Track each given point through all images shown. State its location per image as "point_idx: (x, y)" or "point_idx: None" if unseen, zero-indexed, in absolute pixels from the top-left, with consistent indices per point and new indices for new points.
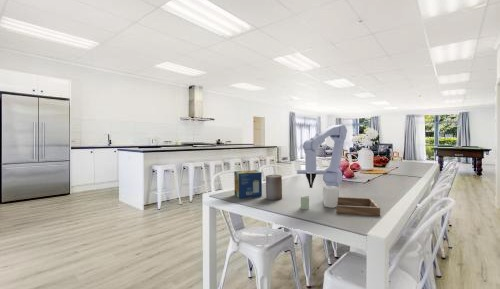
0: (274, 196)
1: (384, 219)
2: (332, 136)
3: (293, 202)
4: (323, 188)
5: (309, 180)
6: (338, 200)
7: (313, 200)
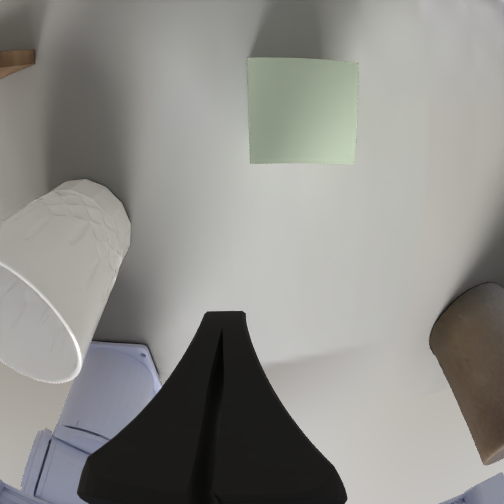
0: (491, 298)
1: None
2: None
3: (377, 259)
4: (57, 297)
5: (245, 401)
6: None
7: None
